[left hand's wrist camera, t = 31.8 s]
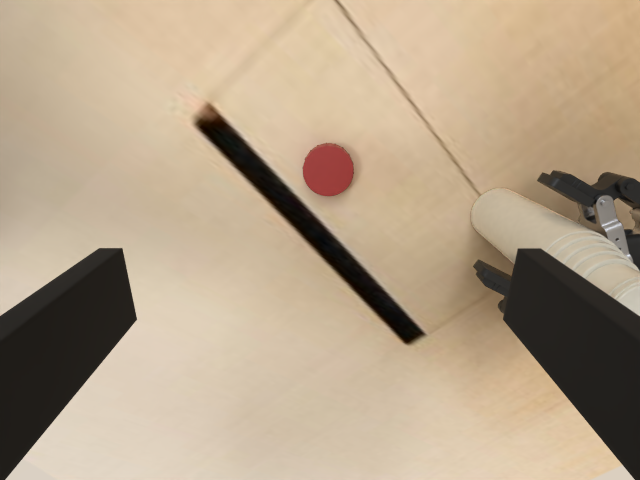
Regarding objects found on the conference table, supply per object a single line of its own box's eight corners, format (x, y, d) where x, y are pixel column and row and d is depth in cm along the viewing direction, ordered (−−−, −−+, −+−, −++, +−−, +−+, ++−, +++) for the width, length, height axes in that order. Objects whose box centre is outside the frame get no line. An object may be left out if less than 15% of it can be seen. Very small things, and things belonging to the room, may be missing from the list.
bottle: (508, 177, 35) (676, 249, 18) (531, 218, 36) (707, 321, 19) (460, 207, 36) (577, 302, 19) (485, 246, 37) (614, 366, 20)
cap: (293, 161, 35) (292, 164, 33) (335, 132, 34) (335, 134, 32) (321, 201, 36) (321, 206, 34) (362, 173, 35) (363, 177, 33)
